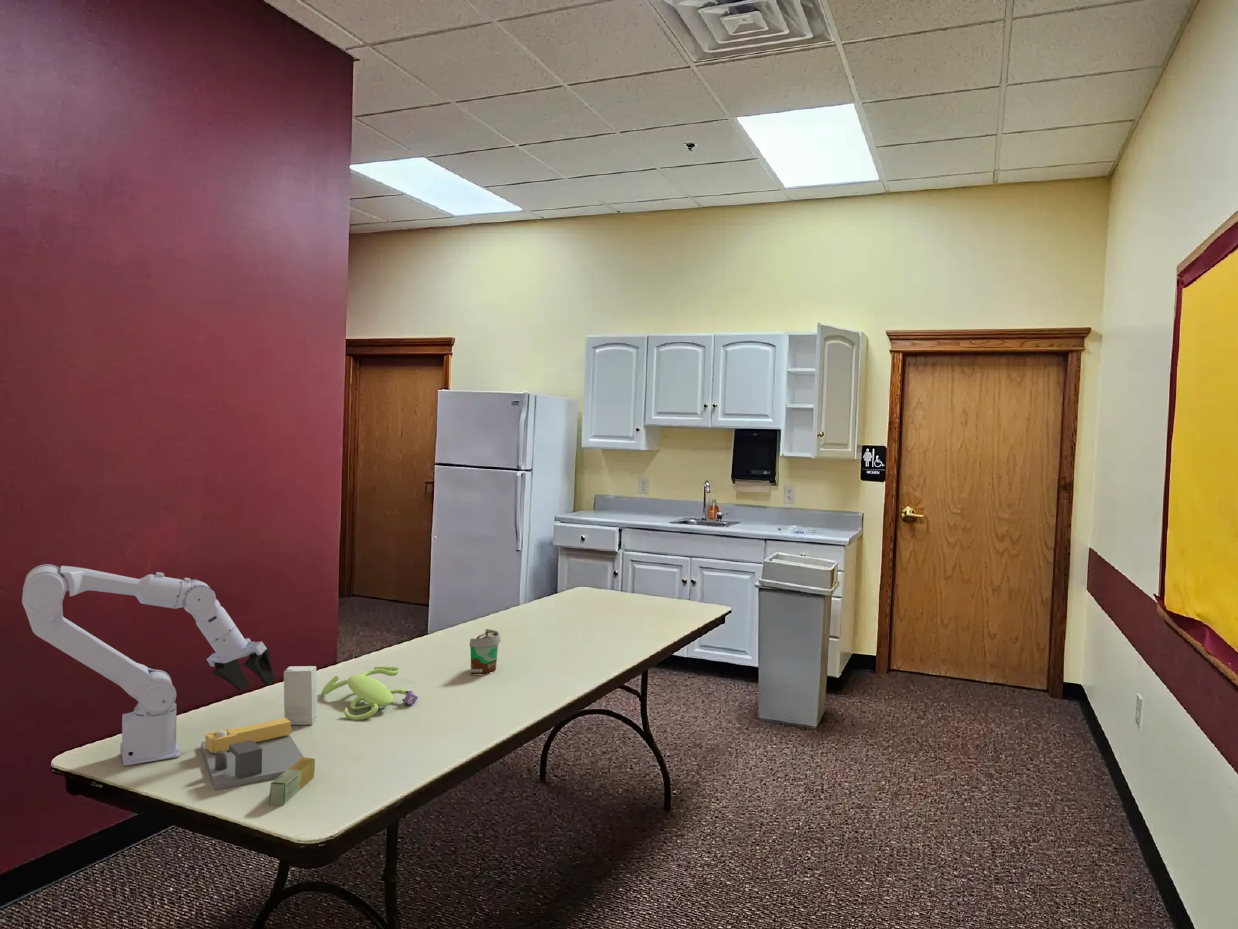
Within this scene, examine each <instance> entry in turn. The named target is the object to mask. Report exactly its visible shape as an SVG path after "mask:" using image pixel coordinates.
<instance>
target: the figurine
mask: <svg viewBox="0 0 1238 929" xmlns="http://www.w3.org/2000/svg"><path fill="white" fill-rule="evenodd" d="M399 671H400V669H399V667H397V666H387V665H383V666H374V667H373V669H369V670H367V671H363V672H362V673H360V674H358V675H357V674H354V675H351V676H349V677H348V678H347V679H344V680H341V681H339V679H340V678H339V676H338V675H335V676H334V677H333V678H331V680H330V681H328V683H327V684H325V686H324V687H323V688H322V691H321V693H320V694H321V695H328V694H329V693H331V692H333V691H334V690H337V689H339V688H341V687H343V686H345V685H348V688H349V689H350V690H351V691H352V693H353V694H354V695H355V696H356V697H355V698H354V699H353V700H352V701H351V703H350V709H352V710H354V711H356V710H362V709H365V708H370V710H369V711H368V712H366V713H363V714H358V715H353V714H350V712H349V709H348V707H345V708H344V716H345V717H346V718H347V719H348V720H350V719H351V721H364V720H367V719H370V717H372V716H373V715H375V714H376V713H377V712H378V710H379V707H380V706H381V707H383V708H387V707H388V706H390V705H391V704H392V703H393V701H394V696H393V695H394V694H401V695H405V697H404V698H402V701H403V703H406V704H408V705H410V706H413V705H414V704H416V703H417V700H418V699H419V696H418V695H417V694H416V693H414V692H413V691H411V690H406V689H402V688H397V689H396V688H395V689H388V687H387V686H386V685H385V684H383V683H382V682H381V681H379V680H377V679H375V678H373V677H371V676H372V675H375V674H382V675H385V676H390V677H394V676H397V675H398V673H399ZM338 681H339V682H338ZM361 701H363V702H366V703H368V704H365V705H361V706H357V704H358V703H360V702H361Z"/></svg>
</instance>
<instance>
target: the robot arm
mask: <svg viewBox="0 0 1238 929" xmlns="http://www.w3.org/2000/svg"><path fill="white" fill-rule="evenodd" d="M86 591H95V592H101V593H111V594H118V595H119V594H120V595H127V596H135V598H136V599H137V601H138V602H139V603H140V604H143V605H148V606H149V605H150V606H155V607H162V608H168V609H174V610H175V609H179V608H184V611H185V612H186V613H189V614H190V615H191V616H192V617H193V619H194V620H195V625H196V626H197V628H198V629H199V630H200V632H201V633H202V635H203V636H204V638H205V639H206V641H207V642H208V643H209V645H210V646H211V647H212V649H213V650H214V652H213V653H211V654H210V656H209V657H207V659H206V661H207V663H208V664H209V666H210V667H211V668H212V667H215V668H214V669H213V670H212V674H213V676H216V677H219V678H221V679H223V680H225V681H226V682H228V683H229V684H231V685H232V686H233V688H236V689H237V690H238V691H240V692H244V691H245V689H247V687H249V685H250V682H249V681H248V679H247V677H246V676H245V673H244V672H243V671H242V668H241V666H240V663H239V659H243V658H246V657H249V658H248V659H247V660H246V661H245V662H244V663H243V666H244V667H246V668H247V669H249V670H250V671H252V672H253V673H254V675H257V677H258V678H259V680H260V681H261V682H262V683H263V684H264V685H265V686H266V687H268V686H270V685H272V683H273V682H275V680H276V678H275V675H274V672H273V669H272V664H271V660H270V658H271V657H270V651H271V650H270V648H269V647H268V646H266V645H265V644H264V643H263V641H251V638H249V637H246V638H244V636H243V635H242V633H241V631H240V629H239V628H238V627H237V625H236V624H235V622H234V621H233V619H232V617H231V616H230V615H229V614H228V612H227V611H226V609H225V608H224V607H223V606H221V603H220V602H219V599H217V597H216V595H217V594H216V593H215V591H214V590H212V589H211V587H210V586H209V585H208V584H207V583H206V582H203V581H201V580H199V579H191V578H189V577H184V578H183V579H180V578H175V577H174V578H173V577H167V576H165V574H164V572H158V571H156V573H155V574H150V573H149V574H147V575H144V577H141V578H134V577H129V576H125V575H120V574H115V573H110V572H104V571H100V570H94V569H90V568H86V567H78V566H71V565H70V566H69V565H61V566H60V567H58V566H57V565H54V564H48V563H47V564H46V563H45V564H41V565H37V566H35V567H34V568H32V569H31V570H30V571H29V572H28V573H27V574H26V576H25V579H24V583H23V587H22V598H21V603H22V606H23V608H24V611H25V613H26V616H27V619H28V622H29V626H30V627H31V631H32V633H33V634H34V635H35V636H37V637H38V638H40V639H42V640H43V641H45V642H47V643H48V644H50V645H51V646H53V647H55V648H56V649H58V650H60V651H61V652H62V653H65V654H66V655H68V656H70V657H71V658H73V659H75V660H76V661H78V662H79V663H81V664H82V665H85V666H86V667H88V668H89V669H91V670H93V671H94V672H96V673H98V674H99V675H101V676H103V677H104V678H106V679H108V680H110V681H111V682H113V683H115V684H116V685H118V687H120V688H122V689H123V690H124V691H125V692H126V693H127V694H128V695H129V696H130V697H131V698H133V699H135V700H136V701H137V704H136V706H135V707H134V708H133V711H131V712H128V713H123V714H122V717H121V718H122V720H121V727H122V728H121V738H122V739H121V743H120V744H119V745H120V748H119V751H120V754H121V756H122V766H124V767H125V766H132V765H137V764H143V763H150V762H155V761H162V760H167V759H173V758H179V757H180V756H181V752H180V749H179V744H178V741H177V703H176V699H177V690H176V687H175V686H174V684H173V683H172V679H171V676H170V674H168V672H166V671H164V670H160V669H153V668H149V667H148V666H146V665H145V664H142V663H138V662H136V661H134V659H131V658H130V657H128V656H127V655H125V654H123V653H122V652H120V651H119V650H117V649H115V648H113V647H112V646H111V645H109V644H107V643H105V642H104V641H103V640H101V639H99V638H98V637H96V636H94V635H93V634H91V633H89V632H88V631H86V630H85V629H84V628H81V627H80V626H78V625H77V624H75V623H74V622H72V621H71V620H69V619H67V618H66V617H64V612H63V600H64V598H65V594H66V592H69V597H73V596H76V595H79V594H81V593H84V592H86Z"/></svg>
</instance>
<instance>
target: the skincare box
mask: <svg viewBox="0 0 1238 929" xmlns="http://www.w3.org/2000/svg"><path fill="white" fill-rule="evenodd" d="M317 680H318V679H317V666H316V665H315V666H314V665H307V666H306V665H305V666H304V665H303V666H302V665H299V666H297V665H295V666H292V665H291V666H288V667H287V668H286V669H285V670H284V671H283V702H284V704H283V705H284V707H283V708H284V718H286V719H288V720H289V721H291V726H302V725H303V726H305V725H306V726H307V725H309V726H312V725H313V724H314V723H315V722H316V721H317V719H318V702H317V701H318V698H317V697H318V695H317V694H318V689H317V688H318V687H317V685H318V684H317V682H318V681H317Z"/></svg>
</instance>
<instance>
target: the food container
mask: <svg viewBox="0 0 1238 929" xmlns="http://www.w3.org/2000/svg"><path fill="white" fill-rule="evenodd" d="M484 631H485V632H484V633H482V634H479V635H478V636H477V637H476V638H470V640H469V648H470V675H471V674H486V675H488V674H487V673H490V672H493V671H495V670H496V671H497V662H498V650H499V644H500V643H502V639H501V635H500V633H499V631H497V630H494V629H489V628H485V630H484ZM496 671H495V672H496ZM493 673H494V672H493Z"/></svg>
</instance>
